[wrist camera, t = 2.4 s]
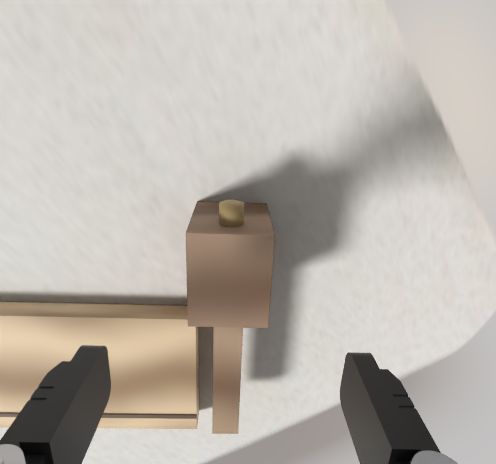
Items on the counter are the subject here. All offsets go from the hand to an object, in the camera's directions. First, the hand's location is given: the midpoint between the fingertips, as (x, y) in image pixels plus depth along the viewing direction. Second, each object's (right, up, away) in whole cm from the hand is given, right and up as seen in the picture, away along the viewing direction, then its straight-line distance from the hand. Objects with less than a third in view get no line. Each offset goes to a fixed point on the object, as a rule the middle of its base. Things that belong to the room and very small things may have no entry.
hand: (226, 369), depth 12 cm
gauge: (-1, 0, +11) cm, 11 cm away
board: (-13, -4, +12) cm, 18 cm away
